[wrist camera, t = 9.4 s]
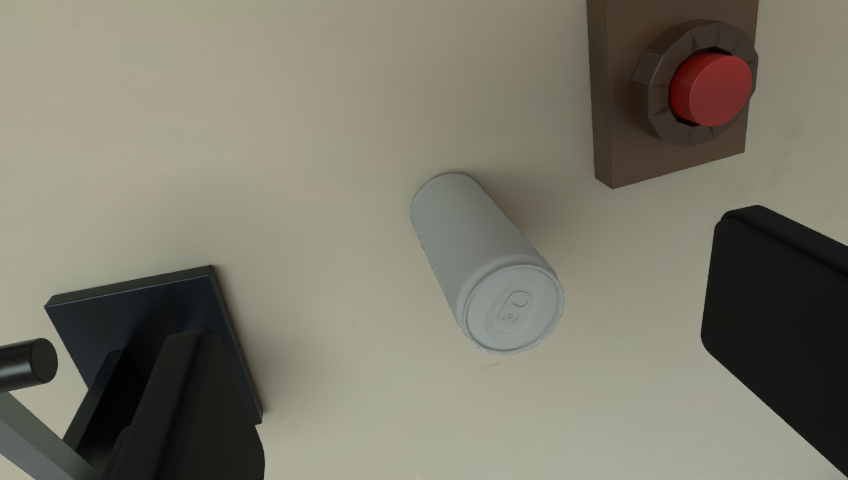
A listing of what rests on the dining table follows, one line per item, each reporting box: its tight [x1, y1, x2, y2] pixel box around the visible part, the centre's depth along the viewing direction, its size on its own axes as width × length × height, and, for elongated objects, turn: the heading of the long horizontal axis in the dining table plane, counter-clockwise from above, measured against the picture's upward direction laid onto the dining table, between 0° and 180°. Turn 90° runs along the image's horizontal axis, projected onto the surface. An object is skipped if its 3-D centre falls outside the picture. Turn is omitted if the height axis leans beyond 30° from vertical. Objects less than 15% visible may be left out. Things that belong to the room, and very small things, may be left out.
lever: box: [0, 338, 102, 480], centre depth 20 cm, size 13×6×2 cm, turn 7°
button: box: [669, 52, 752, 126], centre depth 28 cm, size 4×4×2 cm
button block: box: [587, 0, 759, 189], centre depth 30 cm, size 11×9×4 cm
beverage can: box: [411, 173, 564, 355], centre depth 27 cm, size 5×5×12 cm
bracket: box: [44, 265, 263, 475], centre depth 28 cm, size 12×9×13 cm
